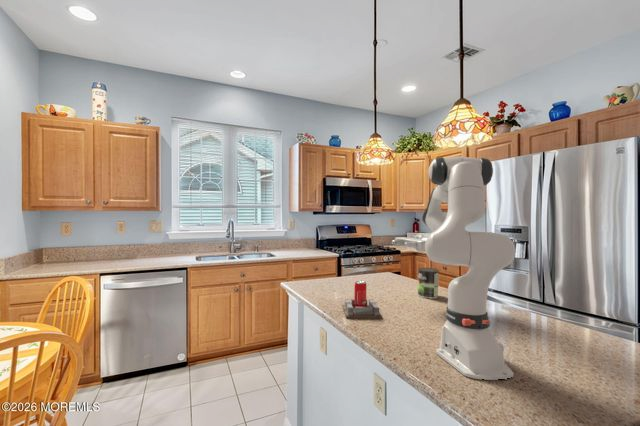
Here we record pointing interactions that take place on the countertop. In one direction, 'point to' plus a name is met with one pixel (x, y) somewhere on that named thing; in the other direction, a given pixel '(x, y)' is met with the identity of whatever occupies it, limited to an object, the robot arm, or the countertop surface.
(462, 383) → the countertop surface
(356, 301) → the beverage can
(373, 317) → the socket block
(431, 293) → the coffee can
